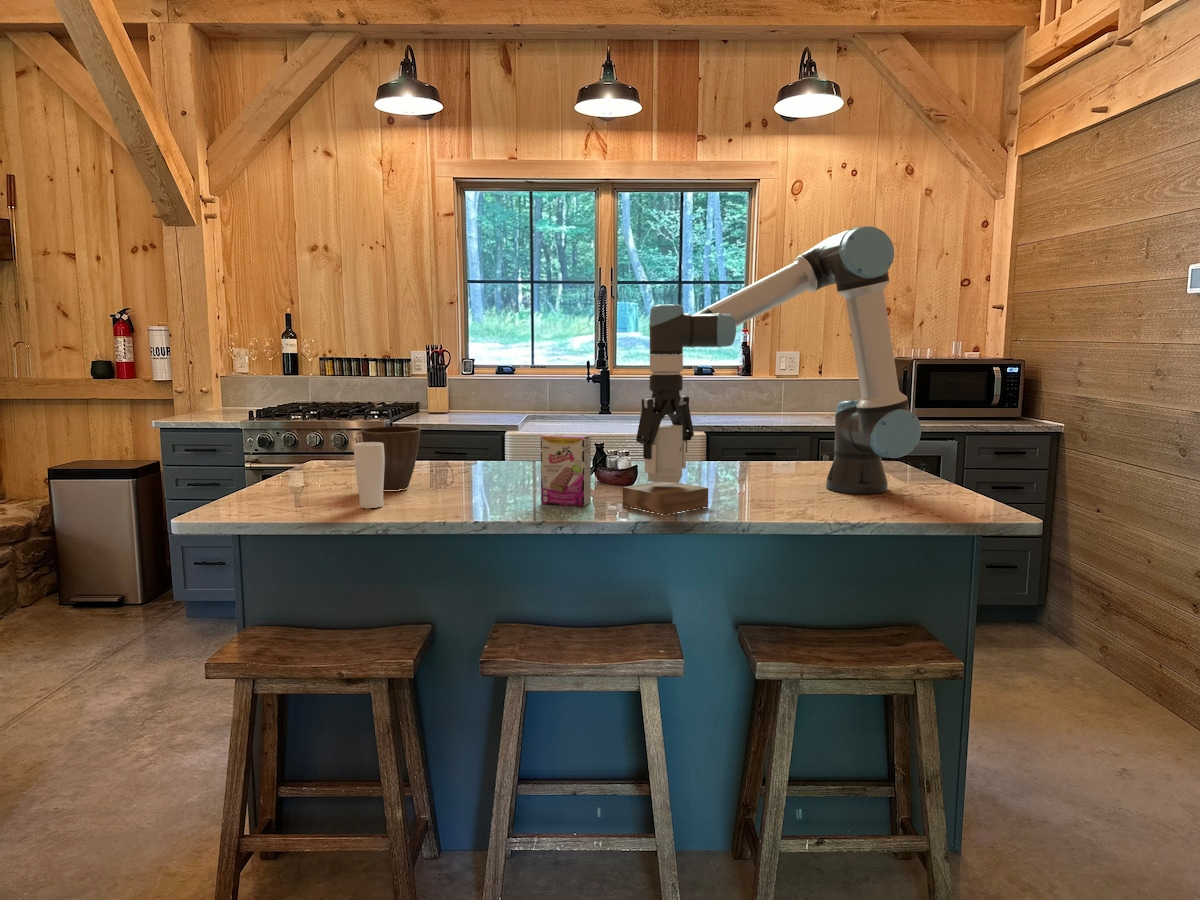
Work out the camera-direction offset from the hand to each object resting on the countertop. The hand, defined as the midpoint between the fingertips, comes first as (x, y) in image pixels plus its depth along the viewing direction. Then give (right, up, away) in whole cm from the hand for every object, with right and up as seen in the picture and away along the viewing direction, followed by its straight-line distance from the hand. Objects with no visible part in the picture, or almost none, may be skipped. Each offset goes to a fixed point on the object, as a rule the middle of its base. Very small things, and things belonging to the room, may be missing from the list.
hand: (665, 470), depth 181 cm
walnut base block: (0, -9, +1) cm, 9 cm away
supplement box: (0, -2, 0) cm, 2 cm away
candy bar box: (-23, -8, +5) cm, 25 cm away
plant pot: (-69, -6, +25) cm, 74 cm away
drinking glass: (-69, -9, +2) cm, 69 cm away
